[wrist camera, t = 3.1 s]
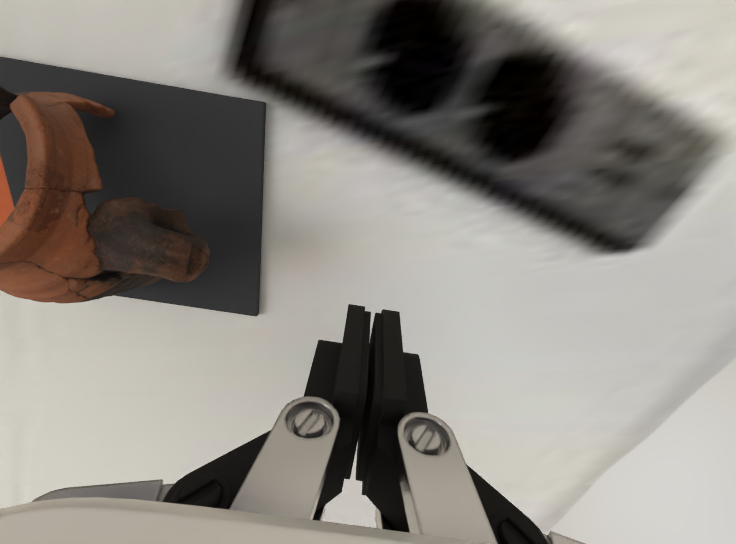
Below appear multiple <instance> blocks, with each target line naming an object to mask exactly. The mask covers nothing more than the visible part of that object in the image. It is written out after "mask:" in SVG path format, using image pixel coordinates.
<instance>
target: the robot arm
mask: <svg viewBox="0 0 736 544" xmlns="http://www.w3.org/2000/svg"><path fill="white" fill-rule="evenodd" d="M370 317H371V312H368V311H365V307H364V306H357V305H351V304H349V306H348V312H347V318H346V324H345V331H344V337H343V343H337V342H331V341H324V340H319V341H318V344H317V348H316V352H315V356H314V359H313V363H312V367H311V371H310V374H309V378H308V382H307V386H306V390H305V393H304V397H301V398H298V399H295V400H293V401H291V402H290V403H288V404H287V405H286V406H285V407H284V409H283V410H282V411H281V413H280V415H279V417H278V419H277V420H276V422H275V424H274V426H273V428H272V430H270V431H268V432H266V433H265V434H263V435H261V436H259V437H257V438H255V439H253V440H251V441H249V442H248V443H246V444H244V445H242V446H240V447H238V448H236V449H234V450H232V451H230V452H229V453H227V454H225V455H223V456H221V457H219V458H217V459H215V460H213V461H212V462H210V463H208V464H206V465H204V466H202V467H200V468H198V469H196V470H194V471H193V472H191V473H189V474H187V475H186V476H184V477H183V478H181V479H180V480H178V481H177V482H176V483H175V484H166V485H163V480H151V481H140V482H128V483H117V484H105V485H93V486H82V487H70V488H63V489H59V490H54V491H51V492H49V493H46V494H44V495H42V496H40V497H38V498H36V499H35V500H33V501H32V502H30V503H26V504H21V505H16V506H12V507H7V508H3V509H0V544H585V543H582V542H579V541H576V540H574V539H571V538H568V537H565V536H563V535H560V534H557V533H555V532H552V531H550V533H549V534H548V535H545V534H542V532H541V531H540V529H539V528H538V527H537V526H536V525H535V524H534V523H533V522H532V521H531V520H530V519H529V518H528V517H527V516H526V515H524V514H523V513H522V512H521V511H520V510H519V509H518V508H516V507H515V506H514V505H513V504H512V503H511V502H509V501H508V500H507V499H506V498H505V497H504V496H502V495H501V494H500V493H499V492H498V491H497V490H496V489H494V488H493V487H492V486H491V485H490V484H489V483H487V482H486V481H485V480H484V479H483V478H482V477H480V476H479V475H478V474H477V473H476V472H475V471H474V470H472V469H471V468H470V467H469V466H468V465H467V464H466V463H465V460H464V458H463V455H462V453H461V450H460V448H459V445H458V442H457V440H456V437H455V435H454V433H453V432H452V430H451V428H450V427H449V426H448V425H447V424H446V423H445V422H444V421H443V420H441V419H439V418H438V417H436V416H434V415H431V414H429V413H428V409H427V402H426V396H425V390H424V383H423V377H422V371H421V364H420V358H419V355H418V354H411V353H404V352H403V346H402V336H401V325H400V315H399V312H396V311H390V310H382V313H375V317H374V322H373V328H372V333H371V338H370ZM369 339H370V343H369ZM357 441H358V449H357V464H356V480H359V481H363V483H362V495H366V496H367V497H368V498H369V499H370V500H371V502H372V503H373V504H374V505H375V506H376V517H375V519H376V526H377V528H370V527H363V526H355V525H347V524H339V523H332V522H324V521H322V519H323V515H324V512H325V506H326V504H327V503H328V502H329V501H331V500H332V499H333V498H334V497H336V496H337V495H338V494H340V493H341V492H342V487H343V482H344V479H350V475H351V470H352V466H353V461H354V456H355V451H356V446H357Z"/></svg>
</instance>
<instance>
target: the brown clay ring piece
mask: <svg viewBox="0 0 736 544" xmlns="http://www.w3.org/2000/svg"><path fill="white" fill-rule="evenodd" d="M76 111H85V112H87V113H90V114H93V115H96V116H101V117H105V118H111V117H113V116H114V115H115V111H114V110H112V109H110V108H108V107H106V106H103V105H101V104H99V103H97V102H94V101H91V100H88V99H85V98H81V97H79V96H76V95H73V94H68V93H61V92H56V93H53V92H38V91H33V92H21V93H15V94H14V93H12V92H10V91H8V90H6V89H4V88H3V87H1V86H0V120H1V119H2V118H3V117H5V116H6V115H8V114H9V113H11V112H13V113H14V115H15V117H16V118H17V120H18V121H19V123H20V125H21V127H22V129H23V131H24V133H25V136H26V143H27V154H28V161H27V169H26V181H25V190H24V191H23V193H22V194H21V196H20V199H19V201H18V203H17V204H16V207H15V208H14V210H13V211H12V212H11V214H10V215H9V217H8V218H7V220H6V221H5V222H4V223H3V224H2V225H1V227H0V290H2V291H3V292H5V293H7V294H10V295H12V296H15V297H19V298H24V299H30V300H34V301H39V302H56V303H75V302H84V301H90V300H94V299H99V298H102V297H106V296H113V295H116V294H118V293H123V292H127V291H129V290H132V289H135V288H139V287H144V286H148V285H151V284H153V283H155V282H158V281H159V280H161V279H163V278H165V279H169V280H172V281H174V282H190V281H192V280H194V279H196V278H197V277H198V276H199V275H200V273H202V272H203V271H204V270H205V269H206V268H207V267H208V265H209V260H208V258H209V255H210V250H209V247H208V244H207V242H206V241H205V240H204V239H203V238H202V237H200V236H199V235H197V234H195V233H194V232H193V231H191V230H190V229H189V226H188V221H187V219H186V216H185V214H184V212H183V211H178V210H176V209H163V208H160V207H159V205H157V204H154V203H149V202H146V201H144V200H143V199H140V198H137V197H127V198H121V199H110V200H106V201H103V202H102V203H100V204H99V205H98V206H97V207H96V208H95V211H94V212H93V214H91V213H90V212H89V211H88V209H87V207H86V202H85V198H84V195H85V194H86V193H91V192H99V191H101V190H102V181H101V178H100V176H99V171H98V167H97V164H96V160H95V155H94V150H93V147H92V145H91V144H90V142H89V140H88V138H87V135H86V133H85V128H84V126H83V123H82V121H81V119H80V117H79V116H78V114H77V113H76ZM103 270H117V271H118V272H110V273H105V272H104V271H103Z"/></svg>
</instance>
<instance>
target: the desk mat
mask: <svg viewBox="0 0 736 544" xmlns="http://www.w3.org/2000/svg"><path fill="white" fill-rule="evenodd" d="M0 86H1V87H3V88H4V89H6V90H8V91H10V92H12V93H14V94H15V93H21V92H33V91H38V92H53V93H56V92H61V93H68V94H73V95H76V96H79V97H81V98H85V99H88V100H91V101H94V102H97V103H99V104H101V105H103V106H106V107H108V108H110V109H112V110H114V111H115V115H114V116H113V117H111V118H105V117H101V116H96V115H93V114H90V113H87V112H85V111H76V113H77V114H78V116H79V117H80V119H81V121H82V123H83V126H84V128H85V133H86V135H87V138H88V140H89V142H90V144H91V145H92V147H93V150H94V155H95V160H96V164H97V167H98V171H99V176H100V178H101V181H102V190H101V191H99V192H91V193H86V194H85V195H84V198H85V202H86V207H87V209H88V211H89V212H90V213H91V214H93V212H94V211H95V208H96V207H97V206H98V205H99V204H100V203H102V202H103V201H106V200H110V199H121V198H127V197H137V198H140V199H143V200H144V201H146V202H149V203H154V204H157V205H159V207H160V208H163V209H176V210H178V211H183V212H184V214H185V216H186V219H187V221H188V226H189V229H190V230H191V231H193V232H194V233H195V234H197V235H199V236H200V237H202V238H203V239H204V240H205V241H206V242H207V244H208V247H209V250H210V255H209V258H208V260H209V265H208V267H207V268H206V269H205V270H204V271H203V272H202V273H200V275H199V276H198V277H197V278H196V279H194V280H192V281H190V282H174V281H172V280H169V279H165V278H163V279H161V280H159V281H158V282H155V283H153V284H151V285H148V286H144V287H139V288H135V289H132V290H129V291H127V292H123V293H118V294H116V295H115V296H122V297H129V298H135V299H142V300H149V301H156V302H163V303H169V304H176V305H183V306H190V307H196V308H203V309H210V310H217V311H224V312H230V313H237V314H244V315H251V316H257V315H258V314H259V293H260V263H261V233H262V204H263V174H264V145H265V115H266V103H265V102H259V101H253V100H247V99H242V98H236V97H230V96H224V95H218V94H213V93H207V92H201V91H195V90H190V89H184V88H178V87H172V86H166V85H161V84H155V83H149V82H143V81H137V80H132V79H126V78H120V77H114V76H109V75H103V74H97V73H91V72H85V71H80V70H74V69H68V68H62V67H56V66H51V65H45V64H39V63H33V62H28V61H22V60H16V59H10V58H4V57H0ZM27 161H28V154H27V143H26V136H25V133H24V131H23V129H22V127H21V125H20V123H19V121H18V120H17V118H16V117H15V115H14V113H13V112H11V113H9V114H8V115H6V116H5V117H3V118H2V119H1V120H0V227H1V225H2V224H3V223H4V222H5V221H6V220H7V218H8V217H9V215H10V214H11V212H12V211H13V210H14V208H15V207H16V204H17V203H18V201H19V199H20V196H21V194H22V193H23V191H24V190H25V181H26V169H27ZM103 271H104V272H105V273H110V272H118V271H117V270H103Z"/></svg>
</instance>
